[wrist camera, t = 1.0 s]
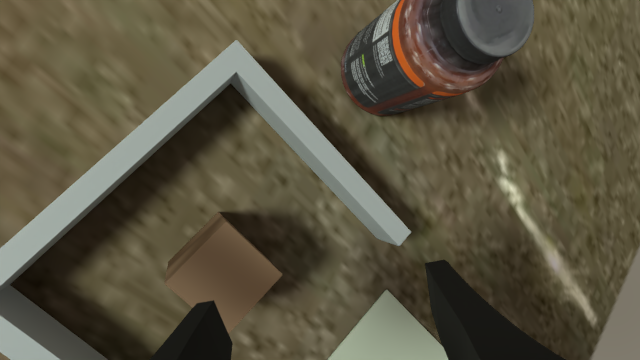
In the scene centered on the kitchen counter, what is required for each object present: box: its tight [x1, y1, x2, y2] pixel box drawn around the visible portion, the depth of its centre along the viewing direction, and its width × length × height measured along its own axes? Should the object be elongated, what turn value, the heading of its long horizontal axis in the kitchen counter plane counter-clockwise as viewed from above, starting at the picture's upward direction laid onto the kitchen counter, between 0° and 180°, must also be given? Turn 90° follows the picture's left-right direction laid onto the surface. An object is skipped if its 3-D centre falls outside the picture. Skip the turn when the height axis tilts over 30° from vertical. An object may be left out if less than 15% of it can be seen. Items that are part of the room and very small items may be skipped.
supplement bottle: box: [341, 0, 534, 116], centre depth 22 cm, size 6×6×11 cm
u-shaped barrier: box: [0, 40, 411, 360], centre depth 23 cm, size 18×15×3 cm
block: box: [164, 212, 283, 334], centre depth 22 cm, size 4×4×5 cm
